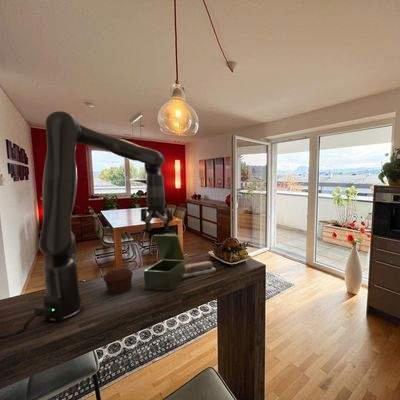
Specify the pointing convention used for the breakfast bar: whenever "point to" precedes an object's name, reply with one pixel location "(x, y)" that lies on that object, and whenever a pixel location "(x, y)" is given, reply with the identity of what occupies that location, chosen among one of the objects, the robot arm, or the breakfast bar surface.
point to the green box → (164, 274)
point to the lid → (169, 246)
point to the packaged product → (198, 269)
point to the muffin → (118, 280)
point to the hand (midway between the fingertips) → (157, 230)
